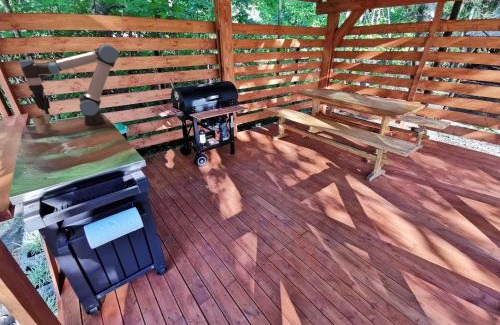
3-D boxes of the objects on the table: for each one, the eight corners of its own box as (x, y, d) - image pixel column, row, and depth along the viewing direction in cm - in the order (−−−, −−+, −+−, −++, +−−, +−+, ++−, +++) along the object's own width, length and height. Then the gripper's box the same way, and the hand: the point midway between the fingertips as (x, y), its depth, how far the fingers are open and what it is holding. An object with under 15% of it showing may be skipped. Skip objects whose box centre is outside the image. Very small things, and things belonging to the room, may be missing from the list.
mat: (38, 129, 184) (38, 128, 184) (59, 130, 180) (59, 130, 180) (24, 133, 175) (24, 132, 175) (46, 135, 171) (46, 134, 171)
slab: (48, 129, 181) (42, 114, 175) (52, 130, 180) (46, 114, 175) (37, 133, 173) (31, 116, 168) (42, 133, 173) (35, 117, 167)
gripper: (21, 85, 158) (35, 119, 169) (37, 85, 156) (50, 120, 166) (33, 83, 165) (45, 116, 175) (48, 84, 163) (60, 117, 173)
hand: (48, 118), depth 171 cm, fingers closed
